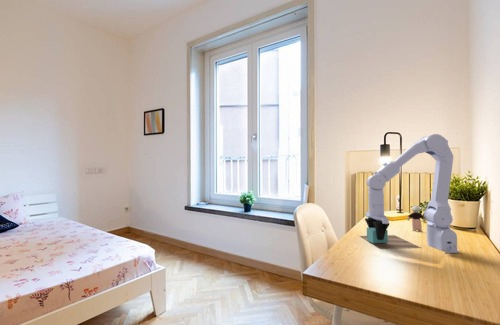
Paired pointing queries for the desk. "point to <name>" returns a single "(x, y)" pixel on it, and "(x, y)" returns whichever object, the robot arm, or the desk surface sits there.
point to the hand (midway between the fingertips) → (376, 237)
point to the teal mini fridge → (375, 236)
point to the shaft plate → (393, 243)
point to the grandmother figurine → (416, 219)
